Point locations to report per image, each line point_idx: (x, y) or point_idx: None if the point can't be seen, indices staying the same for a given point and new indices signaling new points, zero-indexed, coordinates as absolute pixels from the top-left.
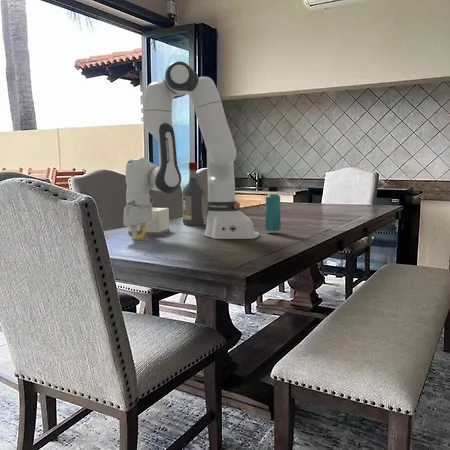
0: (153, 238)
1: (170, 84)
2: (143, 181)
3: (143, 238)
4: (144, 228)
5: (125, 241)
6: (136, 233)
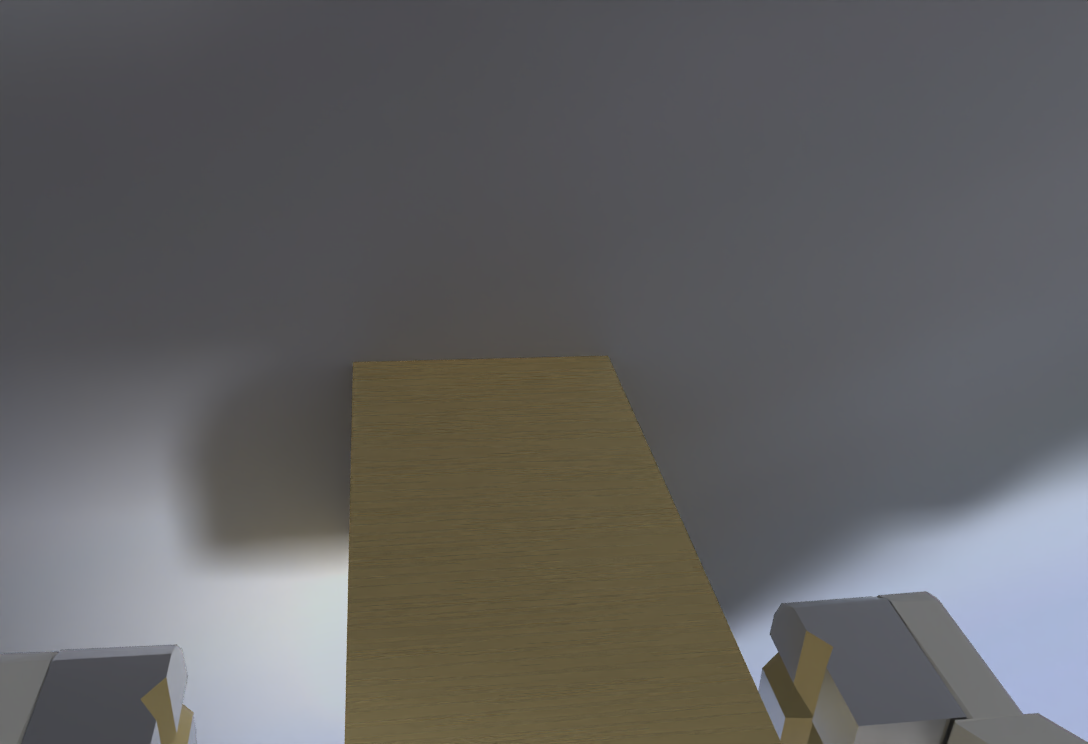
0: (178, 85)
1: None
2: None
3: (617, 386)
4: (566, 691)
5: None
6: (986, 668)
